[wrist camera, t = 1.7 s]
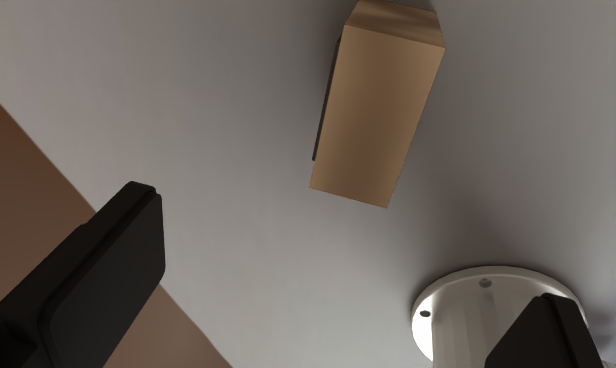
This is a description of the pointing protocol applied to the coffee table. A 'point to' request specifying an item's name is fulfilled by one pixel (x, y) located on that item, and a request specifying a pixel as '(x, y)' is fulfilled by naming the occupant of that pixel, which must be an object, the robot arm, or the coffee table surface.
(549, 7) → the coffee table surface
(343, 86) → the block
